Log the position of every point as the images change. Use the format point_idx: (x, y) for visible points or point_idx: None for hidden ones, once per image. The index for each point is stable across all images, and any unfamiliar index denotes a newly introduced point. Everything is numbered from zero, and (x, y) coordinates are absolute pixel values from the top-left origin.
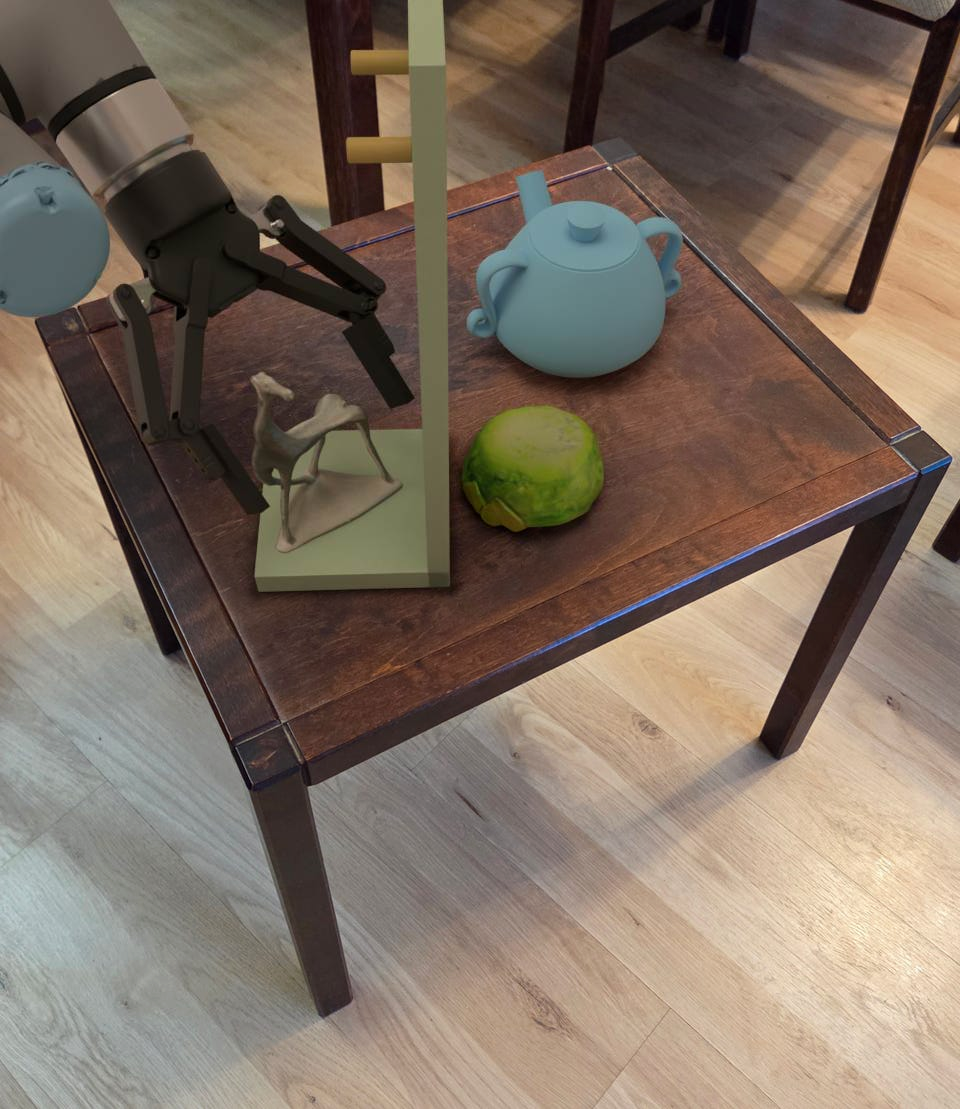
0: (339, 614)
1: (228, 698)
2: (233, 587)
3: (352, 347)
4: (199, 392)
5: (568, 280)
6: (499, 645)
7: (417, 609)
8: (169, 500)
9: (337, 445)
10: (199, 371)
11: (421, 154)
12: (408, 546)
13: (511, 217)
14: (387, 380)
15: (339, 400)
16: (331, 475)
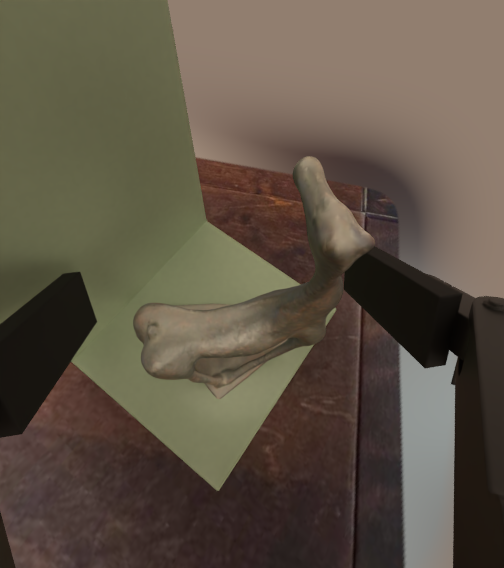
0: (282, 256)
1: (391, 249)
2: (346, 335)
3: (42, 397)
4: (479, 343)
5: None
6: (202, 170)
7: (229, 224)
8: (358, 487)
9: (166, 407)
10: (488, 378)
11: None
12: (201, 250)
13: None
14: (65, 306)
15: (151, 343)
16: (203, 366)
